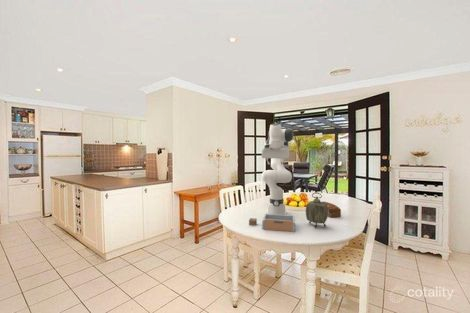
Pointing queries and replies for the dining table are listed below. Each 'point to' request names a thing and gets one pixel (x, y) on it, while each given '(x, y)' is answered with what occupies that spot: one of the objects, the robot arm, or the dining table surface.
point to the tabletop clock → (316, 211)
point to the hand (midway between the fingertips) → (275, 164)
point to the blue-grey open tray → (278, 217)
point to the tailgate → (278, 225)
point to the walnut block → (253, 221)
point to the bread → (333, 210)
